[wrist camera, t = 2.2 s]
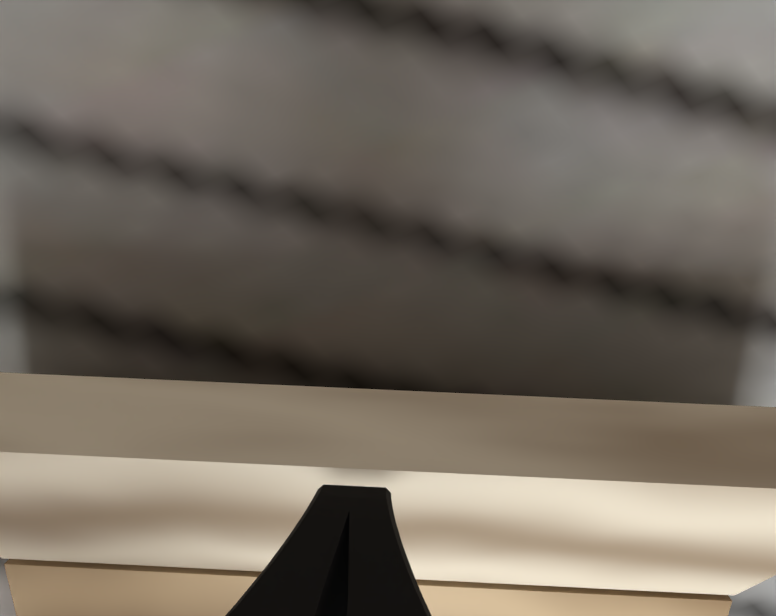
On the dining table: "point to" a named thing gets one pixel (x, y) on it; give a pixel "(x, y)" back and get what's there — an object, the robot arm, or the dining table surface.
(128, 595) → the board
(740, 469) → the maple plank
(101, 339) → the dining table surface
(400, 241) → the dining table surface
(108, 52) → the dining table surface
